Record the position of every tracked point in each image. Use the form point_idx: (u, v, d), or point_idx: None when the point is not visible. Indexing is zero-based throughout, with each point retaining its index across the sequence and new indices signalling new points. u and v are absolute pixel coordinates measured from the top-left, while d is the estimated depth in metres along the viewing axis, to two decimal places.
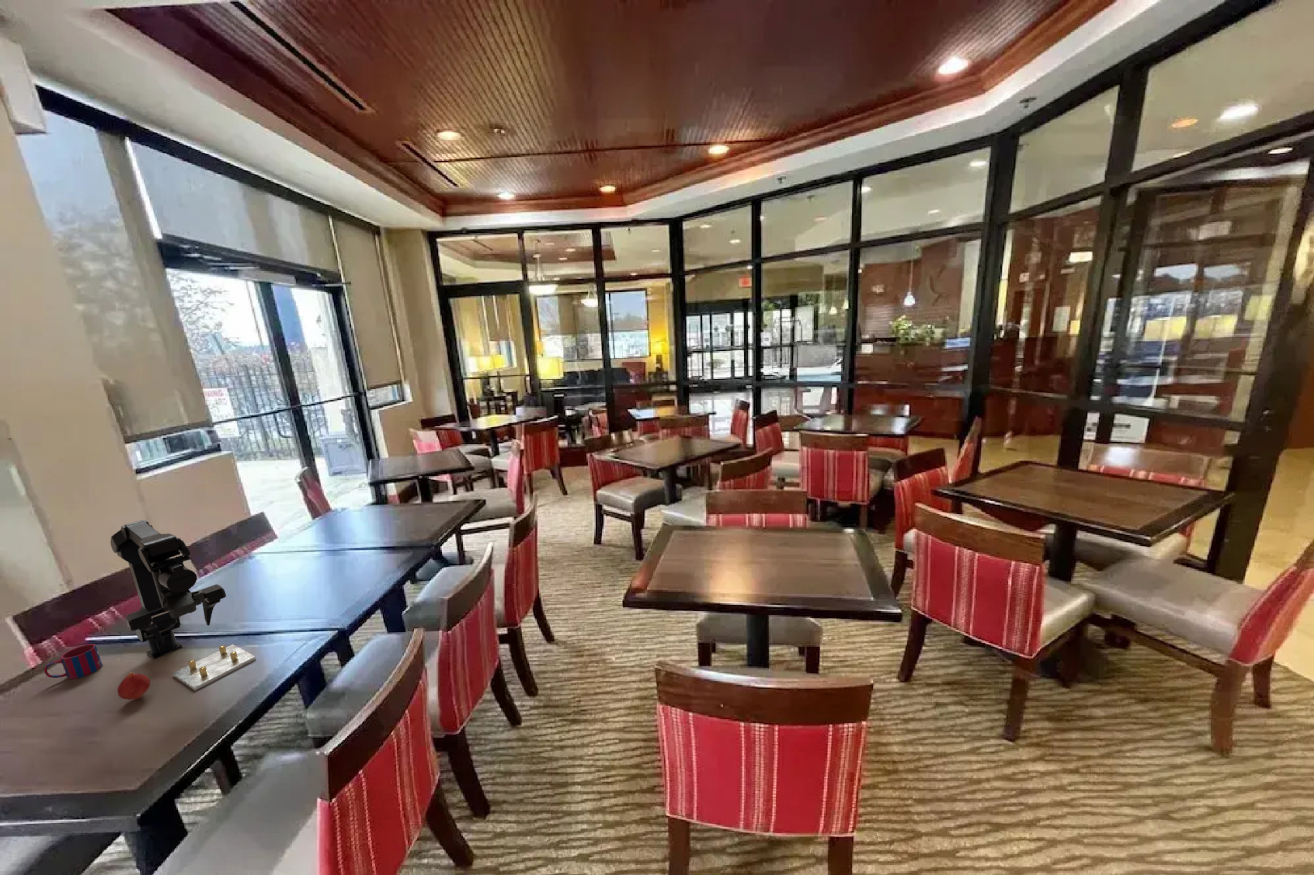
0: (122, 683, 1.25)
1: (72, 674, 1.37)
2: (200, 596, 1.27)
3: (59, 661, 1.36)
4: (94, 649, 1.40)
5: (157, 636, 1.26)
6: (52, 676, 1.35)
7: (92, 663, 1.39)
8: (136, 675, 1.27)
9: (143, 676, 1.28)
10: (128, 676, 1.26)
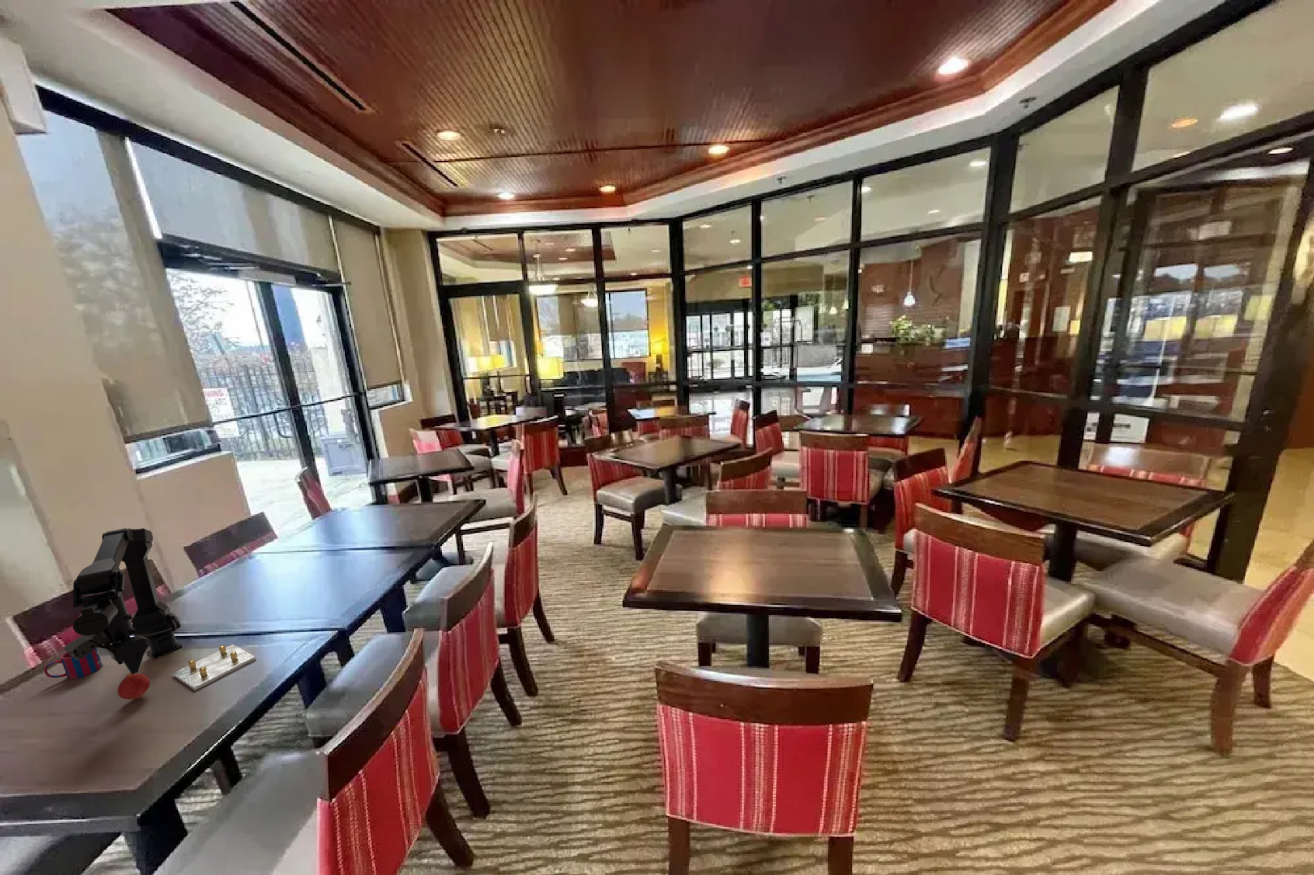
0: (122, 683, 1.25)
1: (72, 674, 1.37)
2: (76, 649, 1.15)
3: (59, 661, 1.36)
4: None
5: None
6: (52, 676, 1.35)
7: (92, 663, 1.39)
8: (136, 675, 1.27)
9: (143, 676, 1.28)
10: (128, 676, 1.26)
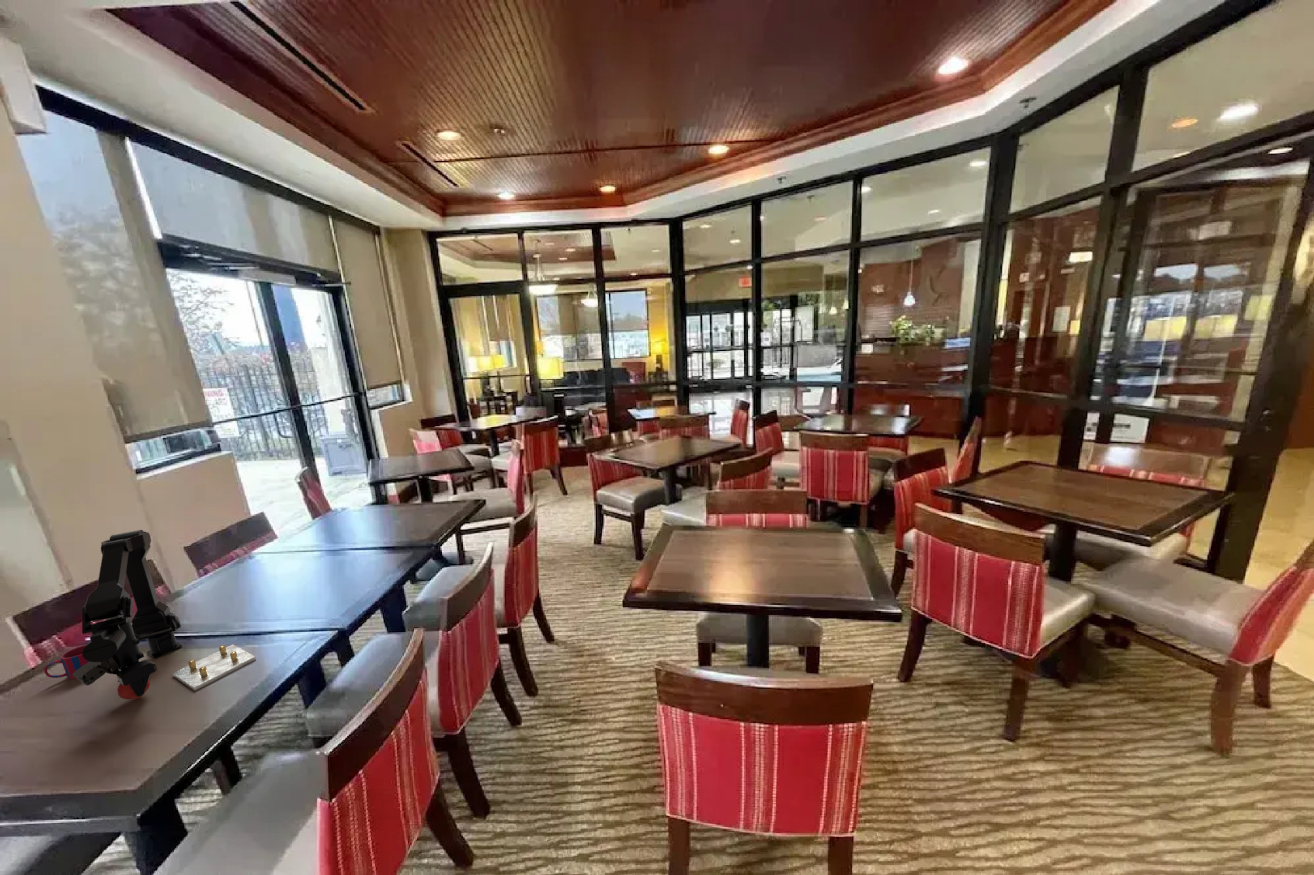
0: None
1: (72, 674, 1.37)
2: (85, 675, 1.17)
3: (59, 661, 1.36)
4: None
5: None
6: (52, 676, 1.35)
7: None
8: None
9: None
10: None
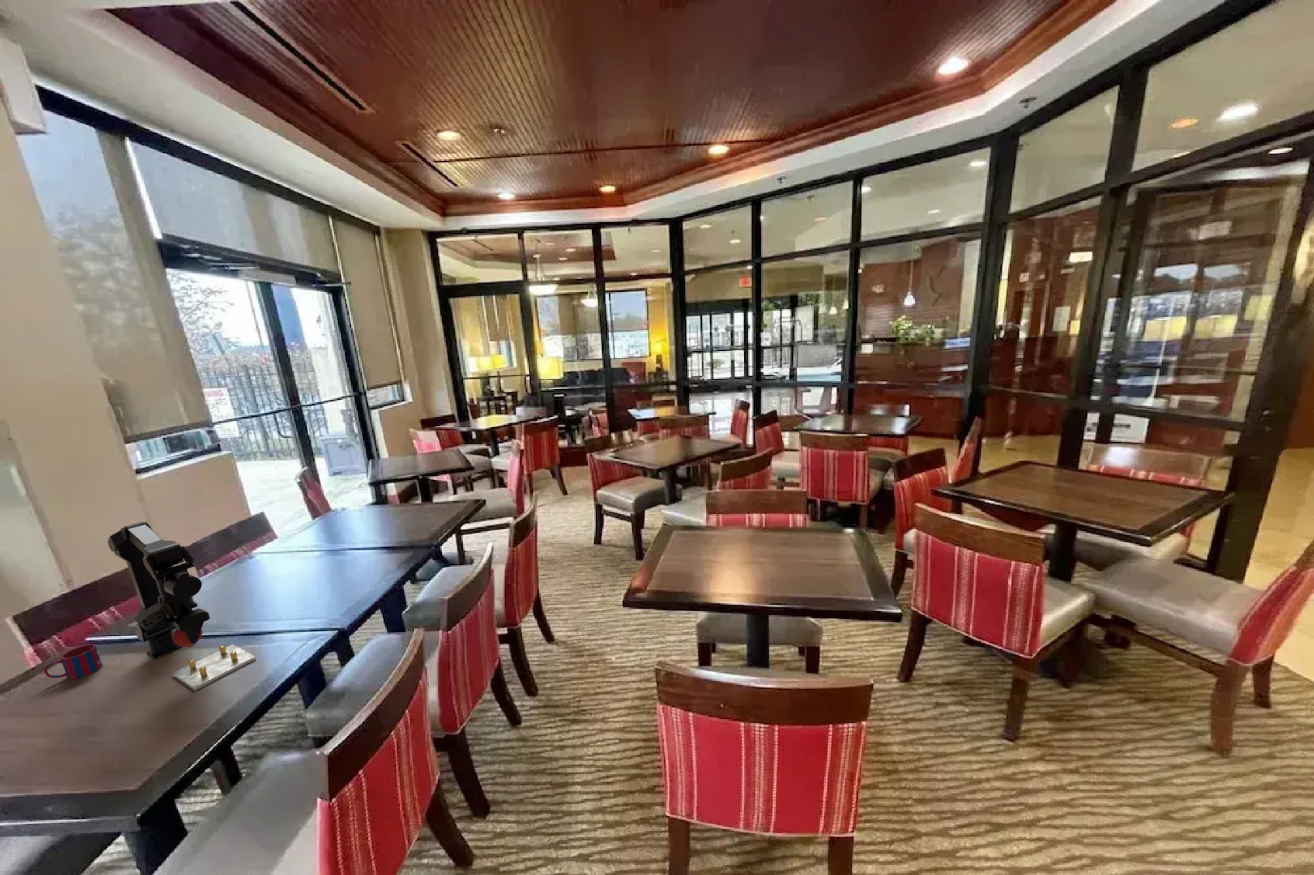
0: (177, 630, 1.31)
1: (72, 674, 1.37)
2: (145, 619, 1.23)
3: (59, 661, 1.36)
4: (94, 649, 1.40)
5: None
6: (52, 676, 1.35)
7: (92, 663, 1.39)
8: None
9: None
10: None
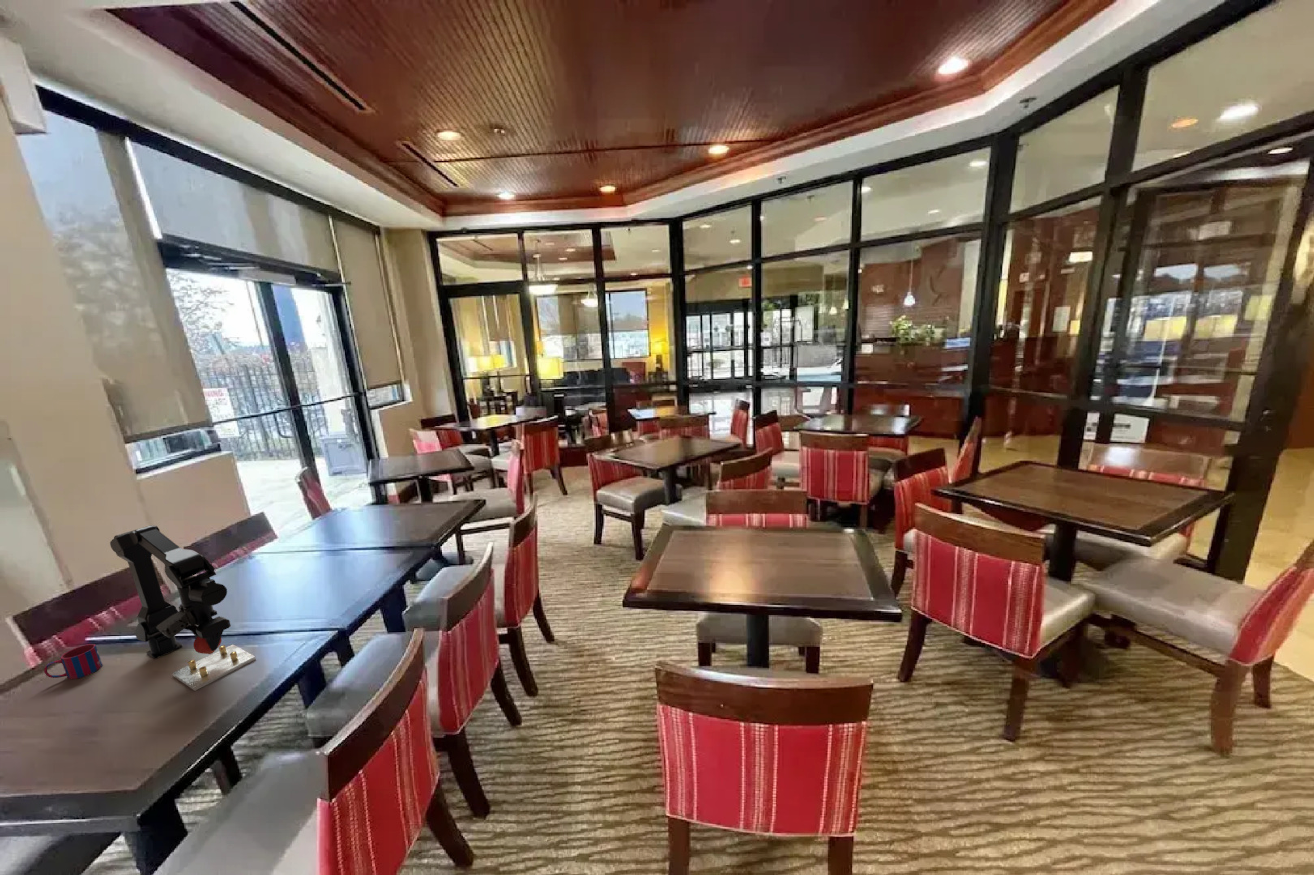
0: (198, 638, 1.35)
1: (72, 674, 1.37)
2: (169, 628, 1.27)
3: (59, 661, 1.36)
4: (94, 649, 1.40)
5: (196, 637, 1.38)
6: (52, 676, 1.35)
7: (92, 663, 1.39)
8: None
9: None
10: None
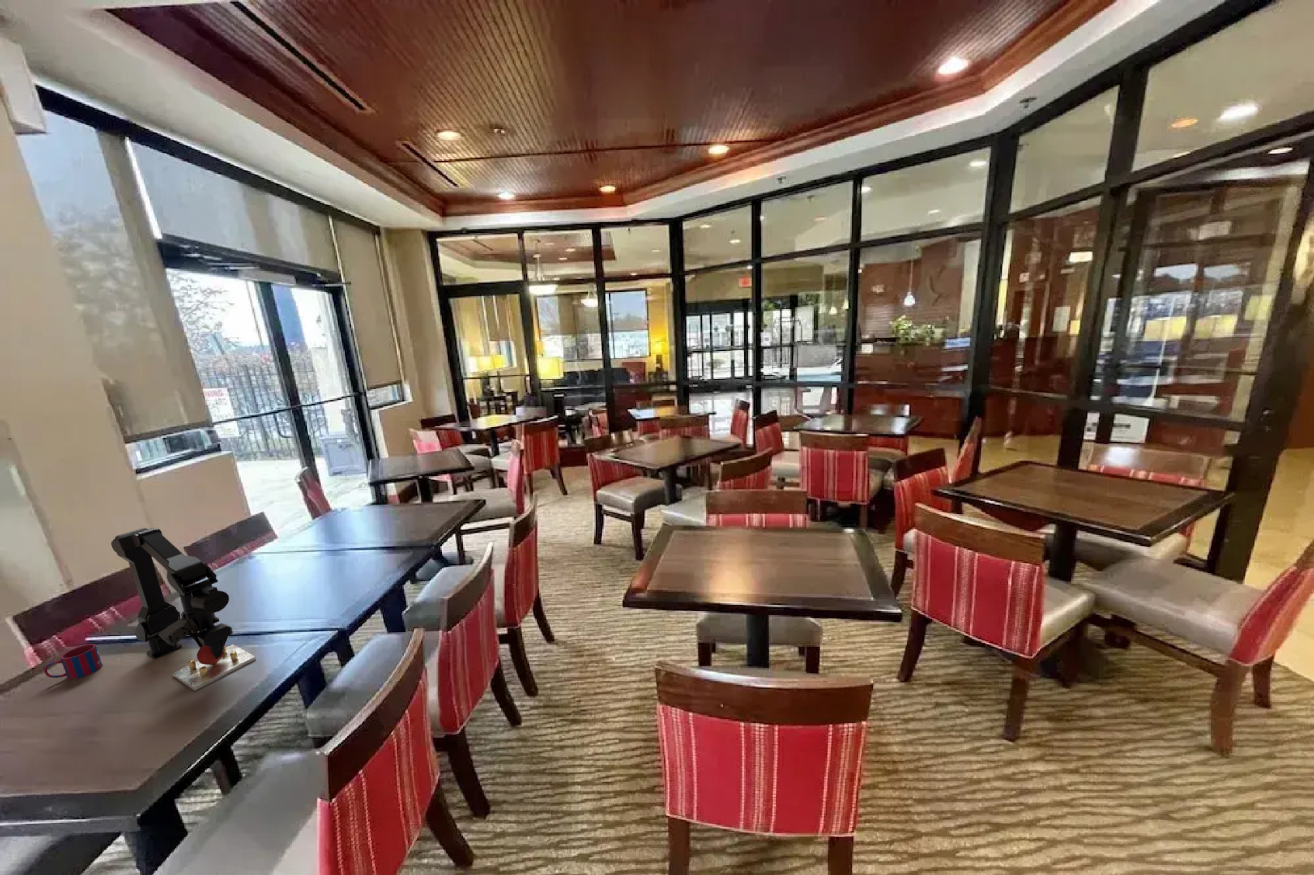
0: (201, 649, 1.35)
1: (72, 674, 1.37)
2: (171, 635, 1.27)
3: (59, 661, 1.36)
4: (94, 649, 1.40)
5: None
6: (52, 676, 1.35)
7: (92, 663, 1.39)
8: None
9: None
10: None
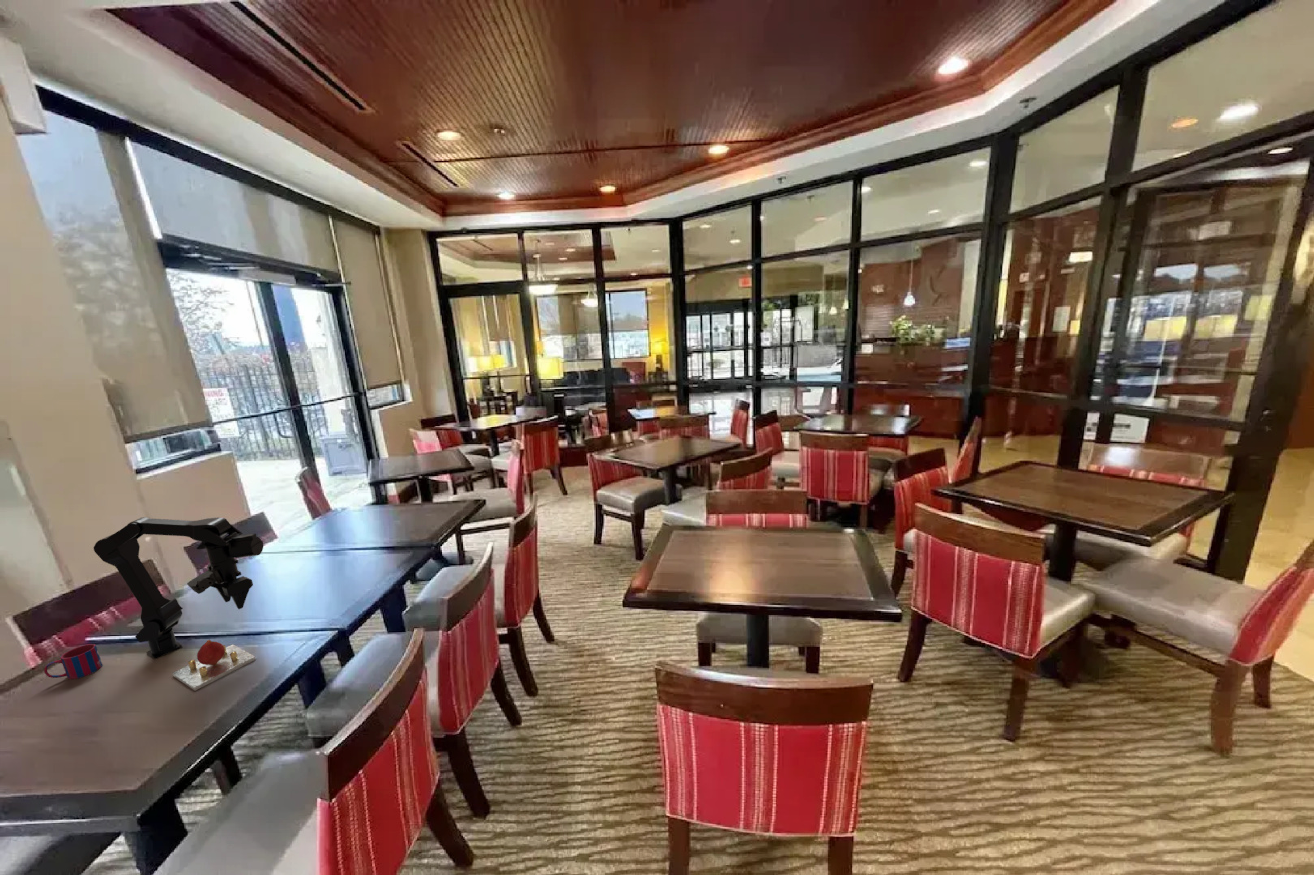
0: (201, 649, 1.35)
1: (72, 674, 1.37)
2: (198, 584, 1.39)
3: (59, 661, 1.36)
4: (94, 649, 1.40)
5: (220, 594, 1.51)
6: (52, 676, 1.35)
7: (92, 663, 1.39)
8: (213, 642, 1.37)
9: (219, 644, 1.38)
10: (206, 643, 1.36)
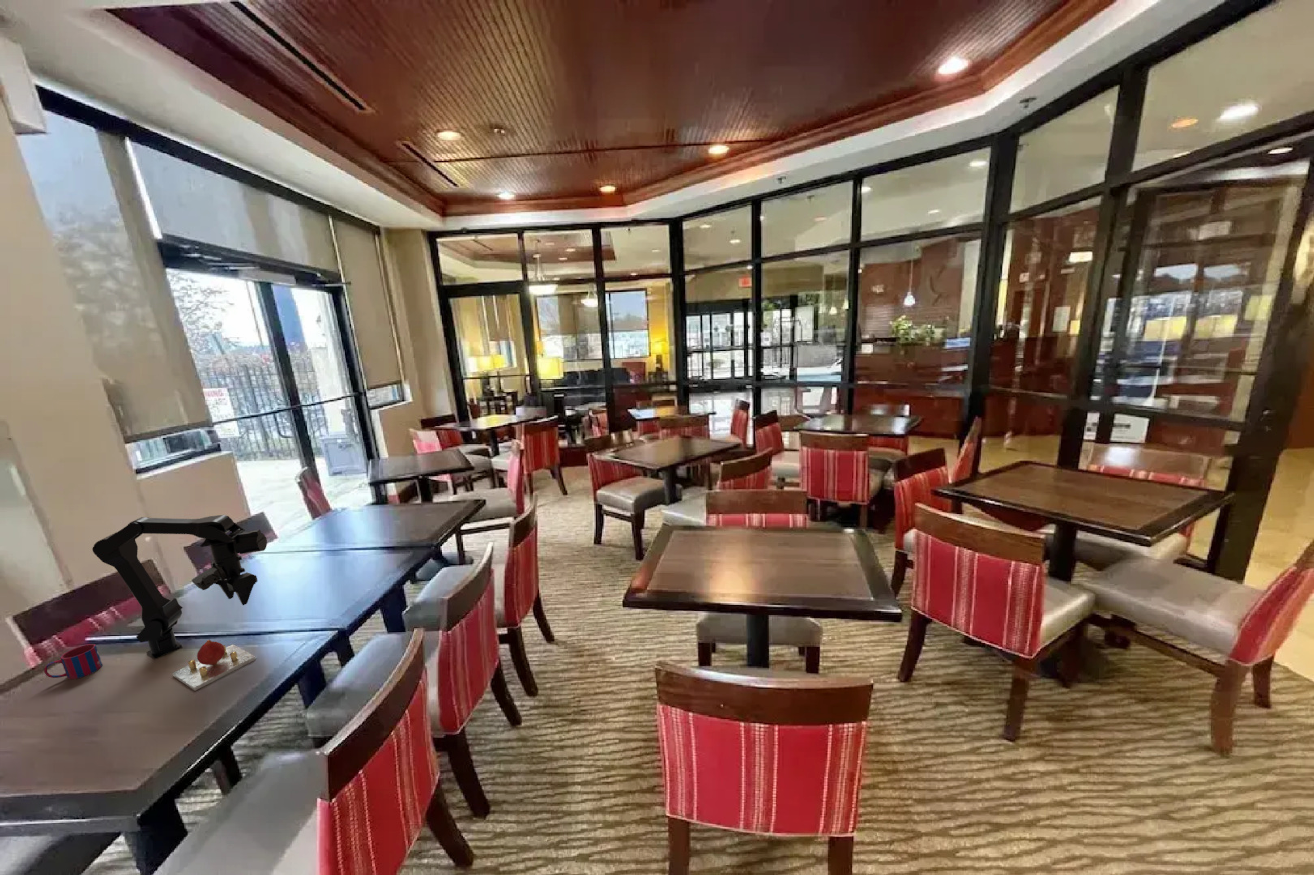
0: (201, 649, 1.35)
1: (72, 674, 1.37)
2: (203, 580, 1.41)
3: (59, 661, 1.36)
4: (94, 649, 1.40)
5: (223, 591, 1.52)
6: (52, 676, 1.35)
7: (92, 663, 1.39)
8: (213, 642, 1.37)
9: (219, 644, 1.38)
10: (206, 643, 1.36)
